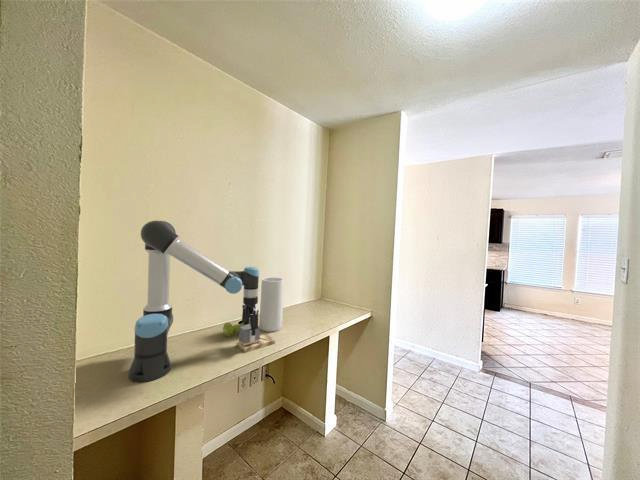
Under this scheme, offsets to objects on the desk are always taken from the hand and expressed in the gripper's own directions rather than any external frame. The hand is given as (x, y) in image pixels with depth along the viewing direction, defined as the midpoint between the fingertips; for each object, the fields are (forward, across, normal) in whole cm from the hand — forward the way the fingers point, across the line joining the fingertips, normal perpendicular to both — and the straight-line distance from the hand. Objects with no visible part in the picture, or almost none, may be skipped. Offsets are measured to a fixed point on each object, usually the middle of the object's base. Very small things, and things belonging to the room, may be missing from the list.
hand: (249, 338), depth 141 cm
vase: (+5, +16, -23) cm, 29 cm away
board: (+4, 0, -4) cm, 6 cm away
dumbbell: (+5, +21, -3) cm, 22 cm away
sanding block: (+1, 0, 0) cm, 1 cm away
